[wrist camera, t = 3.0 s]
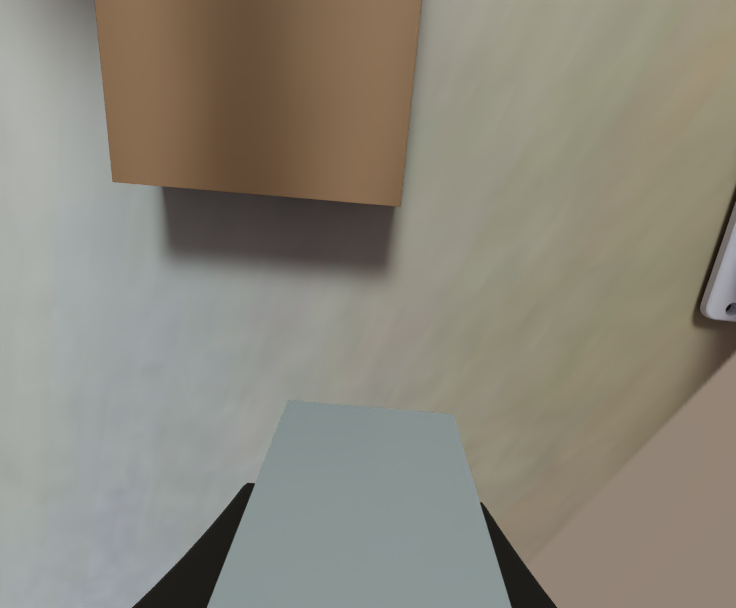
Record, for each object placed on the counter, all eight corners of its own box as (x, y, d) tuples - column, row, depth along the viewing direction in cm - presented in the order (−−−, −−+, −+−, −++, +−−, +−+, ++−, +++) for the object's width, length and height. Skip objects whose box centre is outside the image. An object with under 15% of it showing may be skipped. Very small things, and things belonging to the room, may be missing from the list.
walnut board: (425, -92, 13) (438, -165, 10) (396, 200, 16) (400, 206, 13) (140, -118, 13) (74, -198, 10) (160, 179, 16) (112, 181, 13)
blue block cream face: (453, 413, 12) (538, 696, 5) (431, 541, 13) (479, 878, 7) (287, 399, 12) (183, 666, 5) (284, 529, 13) (200, 855, 7)
